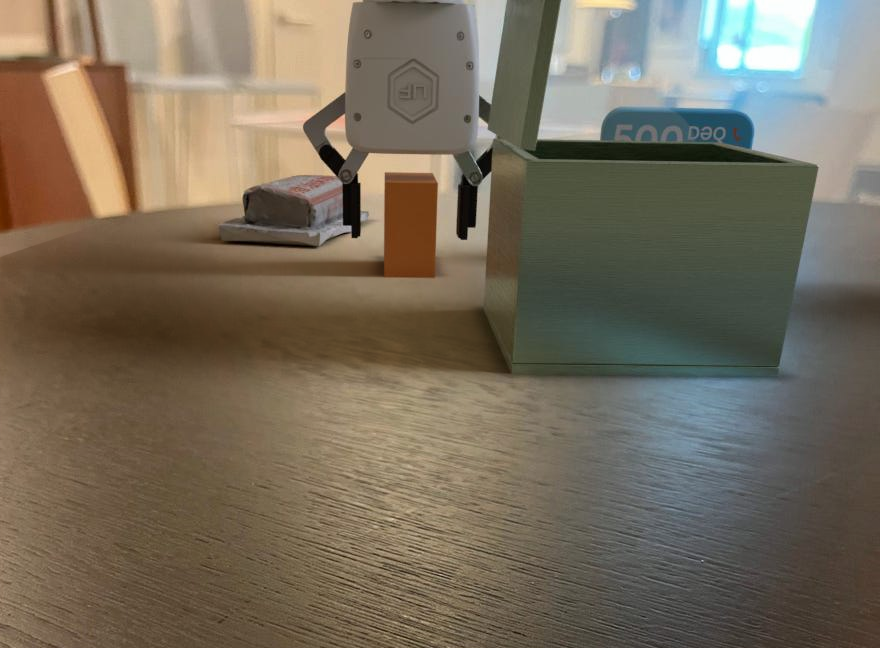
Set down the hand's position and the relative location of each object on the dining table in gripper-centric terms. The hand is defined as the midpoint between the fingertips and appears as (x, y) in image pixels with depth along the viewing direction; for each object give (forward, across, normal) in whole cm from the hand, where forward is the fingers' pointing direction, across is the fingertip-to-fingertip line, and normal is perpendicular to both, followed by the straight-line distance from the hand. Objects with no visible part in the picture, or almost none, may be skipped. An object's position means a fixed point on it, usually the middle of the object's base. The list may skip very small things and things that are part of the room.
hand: (408, 235), depth 83 cm
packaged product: (+3, -10, +20) cm, 23 cm away
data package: (+3, +22, +5) cm, 23 cm away
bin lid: (-16, +6, -25) cm, 30 cm away
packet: (+3, 0, 0) cm, 3 cm away
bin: (+3, +12, -25) cm, 28 cm away
